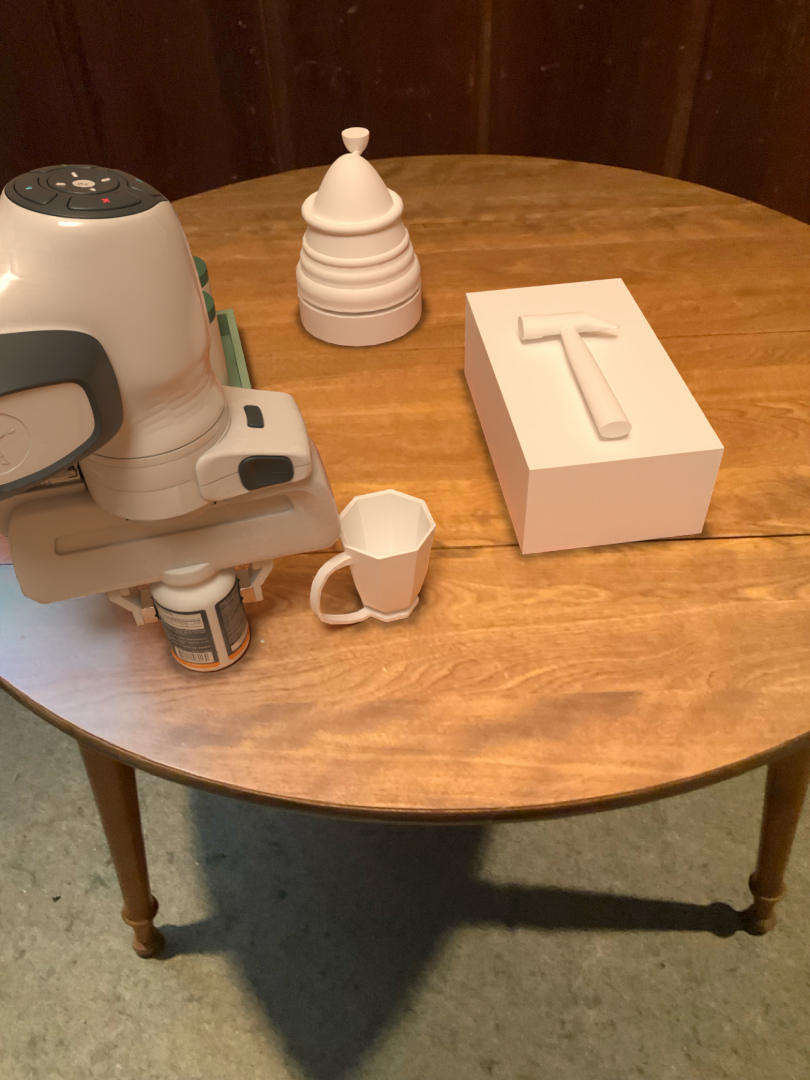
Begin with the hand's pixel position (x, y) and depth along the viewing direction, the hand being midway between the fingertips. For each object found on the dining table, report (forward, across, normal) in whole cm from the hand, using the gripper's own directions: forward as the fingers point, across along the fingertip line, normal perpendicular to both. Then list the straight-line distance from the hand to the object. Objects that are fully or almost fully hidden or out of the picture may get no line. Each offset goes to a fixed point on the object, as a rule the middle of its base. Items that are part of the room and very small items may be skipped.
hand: (201, 606), depth 64 cm
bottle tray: (+4, +2, +28) cm, 28 cm away
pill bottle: (+4, 0, 0) cm, 4 cm away
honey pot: (+4, +20, +41) cm, 46 cm away
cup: (+4, +12, 0) cm, 13 cm away
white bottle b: (+4, +2, +36) cm, 36 cm away
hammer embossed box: (+4, +33, +14) cm, 36 cm away
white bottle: (+4, +2, +30) cm, 30 cm away
